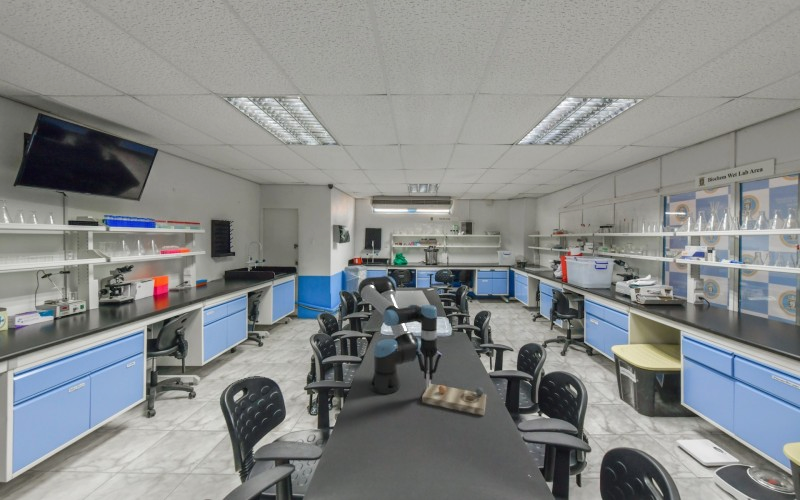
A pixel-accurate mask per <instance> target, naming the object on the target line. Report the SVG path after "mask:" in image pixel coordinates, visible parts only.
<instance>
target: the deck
mask: <svg viewBox="0 0 800 500" xmlns="http://www.w3.org/2000/svg"><path fill="white" fill-rule="evenodd" d="M441 385H442V384H441ZM441 385H440V384H435V383H431V385H430V387H426V389H425V390H424V392H423V394H422V397H421V399H422V400H421V402H422V403H423V404H428V405H433V406H436V407H437V406H438V407H442V408H446V409H451V410H455V411H460V412H465V413H470V414H474V415H479V416H484V417H485V411H486V404H487V393H483V395H481V396H479V395H477V393H476V391H473V390H467V389H463V388H462V389H460V388H456V387H452V386H451V387H450V386H447V385H446V386H445V385H444V386H445V388H446V391H445V393H440V392H439V386H441Z"/></svg>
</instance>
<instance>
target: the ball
mask: <svg viewBox="0 0 800 500" xmlns="http://www.w3.org/2000/svg"><path fill="white" fill-rule="evenodd" d="M445 391H446V388H445V385H443V384H441V386H439V392H440V393H445Z"/></svg>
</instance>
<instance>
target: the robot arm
mask: <svg viewBox="0 0 800 500" xmlns="http://www.w3.org/2000/svg"><path fill="white" fill-rule="evenodd" d="M396 283H397V282H396V281H395V279H394V278H393V277H392V276H389V275H388V276H387V275H382V276H375V277H374V276H373V277H371V276H370V277H366V278H364V279H362V280H361V281H360V282H359V285H358V286H357V292H358V295H359V296H360V298H361V299H362V300H363V301H367V302H368V303H369V304H370V305H371V306H372V307H373V308H375V310H377V311H378V312H379V313H380V315H382V321H383V324H384V325H386V326H388V327H390V329H391V331H392V334H393V337H394V338H385V339H381V340H378V341H377V342H376V343H375V345H374V351H373V357H374V360H373V361H374V362H373V363H374V364H373V365H374V368H373V369H374V372H373V375H372V378H371V381H370V389H371V391H373V392H374V393H377V394H381V395H389V394H393V393H396V392H398V391H399V390H400V388H401V381H400V380H401V379H400V378H399V375H398V371H397V370H398V369H397V368H398V365H403V364H407V363H410V362H414V361H416V360H418V364H419V369H420V371H421V372H423V373H424V374H423V375H424V377H423V379H424V380H426V381H425V384H426V385H425V386H426V388H427V387H430V385H431V384H432V383H431V381H432V380H433V379H434V378H433V376H434V375H433V374H435V373H436V372H437V369H438V366H439V363H440V359H441V357H442V355H443V353H442V352H439V351H438V348H437V342H438V341H437V335H438V334H437V327H438V310H437V306H435V305H432V304H424V305H422V306H419V305H417V304H410V305H408V306H407V307H402V308H401V307H399V304H398V302H397V299H396V297H395V296H396V293H397V290H398V289H397V284H396ZM413 322H414V323H415V322H416V323H419V324H420V336H421V338H419V337H417V336H414V334H413V332H412V331H409V328H408V326H407V324H409V323H413ZM422 355H423V356H422ZM435 355H436V359H435V362H434V357H435ZM423 359H424V360H423Z"/></svg>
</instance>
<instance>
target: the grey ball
mask: <svg viewBox="0 0 800 500" xmlns="http://www.w3.org/2000/svg"><path fill="white" fill-rule="evenodd" d="M475 392H476V393H477V395H479V396H481V395H483V394H484V389H483V388H482V387H477V388H476V390H475Z"/></svg>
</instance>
